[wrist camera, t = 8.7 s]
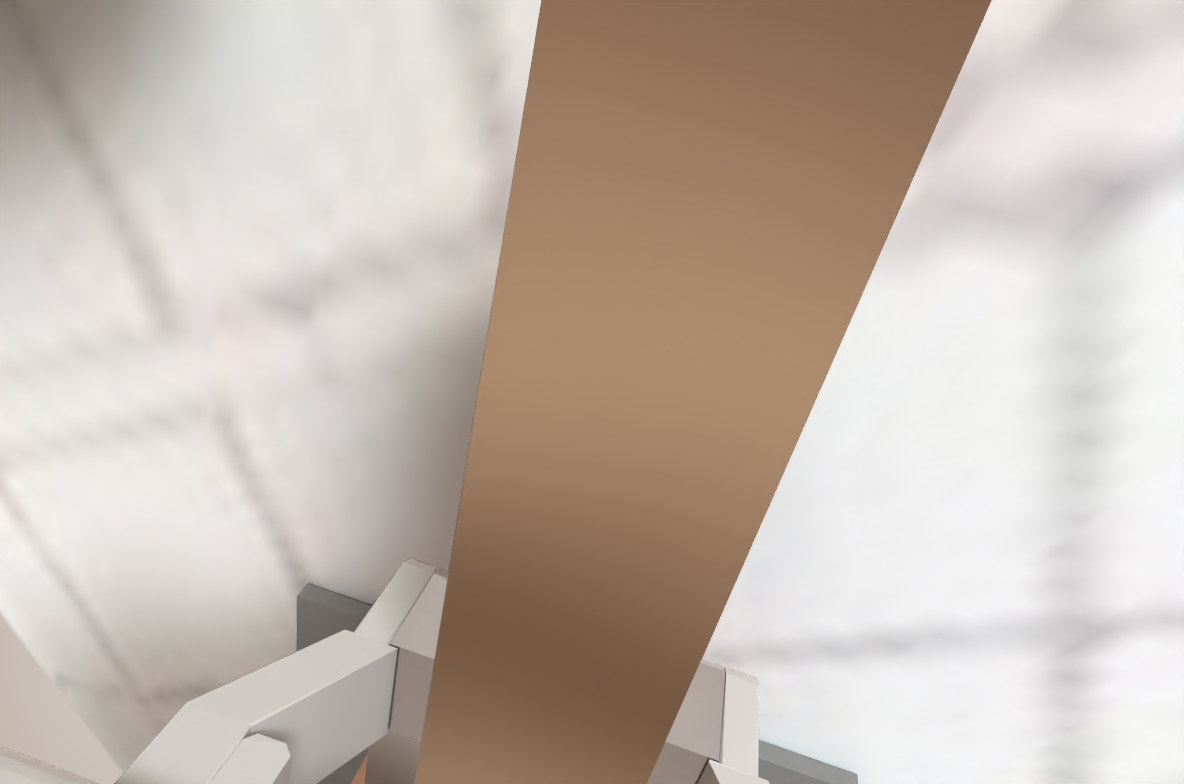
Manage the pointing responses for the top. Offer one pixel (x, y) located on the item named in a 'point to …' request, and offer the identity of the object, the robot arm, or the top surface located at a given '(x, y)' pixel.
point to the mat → (318, 618)
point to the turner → (658, 354)
